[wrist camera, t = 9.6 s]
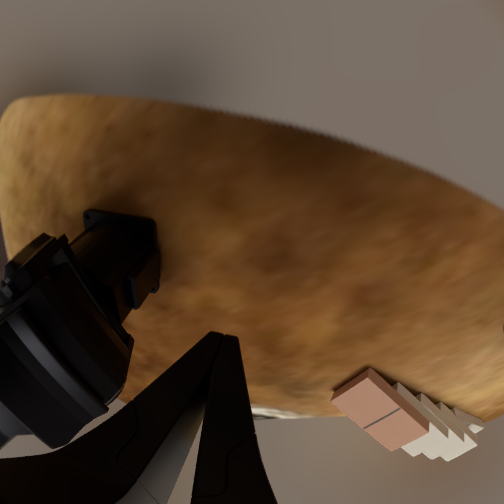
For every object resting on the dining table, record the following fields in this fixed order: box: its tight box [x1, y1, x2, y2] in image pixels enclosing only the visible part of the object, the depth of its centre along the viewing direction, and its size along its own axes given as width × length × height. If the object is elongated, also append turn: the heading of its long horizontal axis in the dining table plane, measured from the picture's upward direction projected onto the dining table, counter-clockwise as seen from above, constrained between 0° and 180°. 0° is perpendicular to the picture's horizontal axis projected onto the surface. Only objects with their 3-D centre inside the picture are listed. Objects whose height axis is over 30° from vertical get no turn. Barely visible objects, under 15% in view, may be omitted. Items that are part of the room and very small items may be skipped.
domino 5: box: [450, 407, 484, 434], centre depth 29 cm, size 2×5×10 cm
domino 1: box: [330, 367, 430, 451], centre depth 25 cm, size 2×5×10 cm
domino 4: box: [435, 401, 478, 462], centre depth 27 cm, size 2×5×10 cm
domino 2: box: [391, 382, 449, 457], centre depth 26 cm, size 2×5×10 cm
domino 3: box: [415, 393, 464, 460], centre depth 26 cm, size 2×5×10 cm
